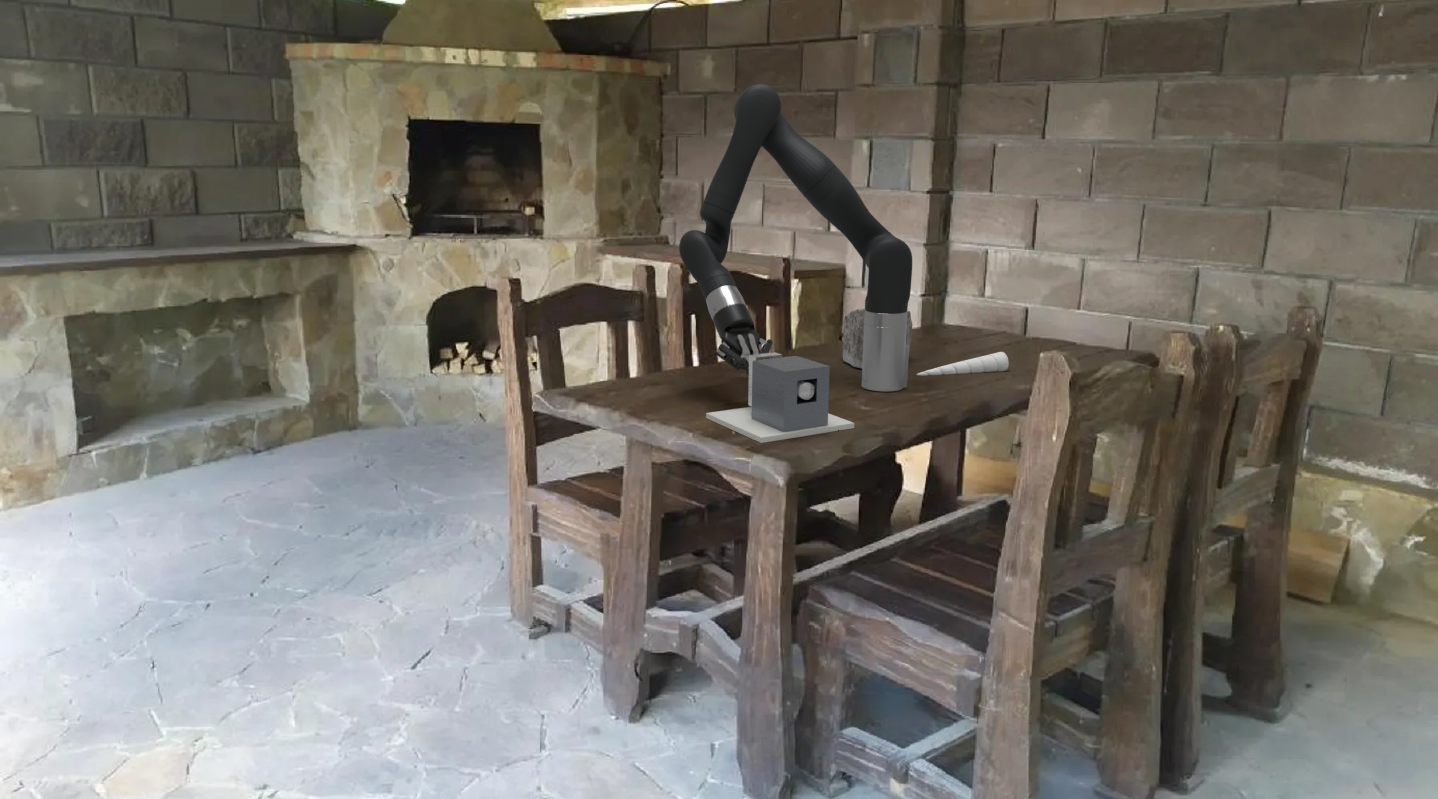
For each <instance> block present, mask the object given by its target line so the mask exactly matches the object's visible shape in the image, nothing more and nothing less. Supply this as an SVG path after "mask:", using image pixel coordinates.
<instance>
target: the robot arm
mask: <svg viewBox="0 0 1438 799" xmlns="http://www.w3.org/2000/svg"><path fill="white" fill-rule="evenodd" d="M733 113H734V115H733V116H734V119H735V125H734V129H733V131H732V134H731V137H730V141H729V143H728V146H727V148H726V151H725V153H724V155H723V158H722V160H721V161H720V163H719V166H718V167H717V169H716V171H715V173H714V175H713V177H712V180H711V182H710V185H709V186H708V189H707V192H706V194H705V197H704V200H703V202H702V205H701V208H700V211H699V216H700V217H701V219H702V220H703V221H704V223H705V231H704V232H703V231H702V230H697V229H692V230H688V231H686V232H685V233H684V234H683V235H682V236H681V238H680V240H679V243H678V244H679V246H678V250H679V255H680V258H681V261H682V262H683V265H685V267H686V269H687V270H688V272H689V273H690V275H691V276H692V278H693V280H695V281H696V282H697V284H698V286H699V287H700V291H701V293H702V295H703V298H704V300H705V302H706V305H707V306H706V307H707V310H708V314H709V315H710V317H711V320H712V322H713V325H714V328H715V329H716V332H717V334H718V337H719V338H720V340H721V342H720V345H719V346H718V347H717V349H716V350H715V354H716V356H718V357H719V359H722V360H723V361H724V362H725V363H727V364H728V365H730V366H731V367H732V368H734V369H735V370H737V371H740V370H744V372H746V375H747V377H748V378H749V355H755V354H764V353H771V348H772V346H773V343H774V342H773V340H772V339H770V338H769V339H767V340H765V339H763V338H761V335H760V333H758V331H757V330H756V328H755V322H754V320H753V318H752V315H751V314H750V311H749V309H748V306H747V304H746V302H745V299H744V297H743V296H742V294H741V292H740V291H739V290H738V287H737V285H736V282H735V280H734V278H733V276H732V274H731V273H730V271H729V270H728V268H727V267H725V266H724V265H723V264H722V263H723V262H724V260H725V258H726V257H727V256H726V255H727V253H728V249H729V242H730V235H731V228H732V220H733V218H734V215H735V213H736V211H737V208H738V206H739V203H740V200H741V198H742V196H743V192H744V189H745V188H746V184H747V181H748V179H749V176H750V173H751V171H752V168H753V166H754V163H755V161H756V158H757V155H758V154H759V152H760V149H761V148H763V149H764V150H765V151H766V152H767V153H769V155H770V156H771V157H772V158H773V159H774V160H775V162H776V163H777V164H778V166H779V167H780V169H781V170H782V171H783V172H784V174H785V175H786V176H787V177H788V179H789V180H790V181H791V183H793V184H794V186H795V187H796V189H797V190H798V191H799V192H800V193H801V194H802V195H803V196H802V197H804V198H805V199H806V200H807V201H808V203H810V204H811V206H812V207H813V208H814V209H815V210H816V211H817V212H818V213H819V214H820V215H821V216H822V217H824V218H825V219H826V220H827V221H828V222H829V223H830V224H831V225H833V227H834V228H836V229H837V230H838V231H840V233H842V234H843V236H844V237H845V238H847V240H848V241H849V242H850V244H851V245H852V247H854V249H855V250H856V252H857V254H859V256H860V257H861V260H862V261H863V262H864V263H865V266H866V267H867V268H868V277H867V291H866V296H865V299H864V309H865V316H864V341H863V364H862V368H861V387H862V388H863V389H866V390H869V391H875V392H898V391H901V390H903V389H904V388H905V389H906V388H907V387H908V375H909V361H908V359H910V358H909V356H910V355H909V354H910V351H909V346H908V345H907V344H906V329H907V311H909V310H908V306H909V302H910V297H911V289H912V288H911V287H912V279H913V278H912V276H913V254H912V251H911V248H910V246H909V245H908V244H907V243H906V242H905V241H903V240H902V239H900V238H898V237H897V236H895V235H894V234H892V233H891V232H890V231H889V230H888V229H887V228H886V227H884V226H883V225H882V224H881V223H880V221H879V220H878V219H876V217H874V215H873V214H872V213H871V212H870V210H869V209H868V208H867V206H866V205H865V203H864V201H863V200H862V198H861V195H859V193H858V192H857V190H856V188H855V187H854V186H853V184H852V183H851V181H850V180H849V179H848V178H847V177H846V175H845V174H844V173H843V172H842V171H841V170H840V168H839V167H838V166H837V165H836V164H835V162H833V160H831V159H830V157H828V156H827V155H826V154H825V153H824V152H823V151H821V150H820V149H818V148H817V147H816V146H815V145H813V144H812V143H810V142H809V141H808V140H806V139H805V138H804V137H802V135H800V134H799V133H798V132H797V131H796V130H795V129H794V127H793V126H792V125H791V124H790V123H789V121H788V120H787V119H786V118H785V117H784V115H783V114H782V101H781V97H780V96H779V94H778V92H777V91H776V89H774V88H773V87H772V86H770V85H768V84H765V83H756V84H753V85H751V86H748V87H747V88H745V90H743V91H742V92H741V93H740V94H739V96H738V97H737V99H736V100H735V103H734V107H733ZM758 348H759V349H758ZM759 351H760V352H759Z"/></svg>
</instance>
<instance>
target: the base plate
mask: <svg viewBox="0 0 1438 799" xmlns="http://www.w3.org/2000/svg"><path fill="white" fill-rule="evenodd" d="M705 418H706V419H708V420H710V421H712V422H714V423H716V424H718V425H721V426H722V427H725V428H727V429H730V430H732V431H734V432H736V433H738V434H741V435H742V436H745V437H747V438H749V439H751V440H753V441H756V442H757V443H760V444H764V443H770V442H776V441H783V440H787V439H794V438H800V437H807V436H813V435H814V436H815V435H819V434H826V433H833V432H838V430H839V431H844V430H850V429H855V422H852V421H850V420H847V419H844V418H841V417H839V416H836V415H834V414H831V413H829V412H828V426H821V427H815V428H809V429H802V430H796V431H789V432H781V431H779V430H777V429H774V428H772V427H770V426H767V425H765V424H763V423H760V422H758V421H755V420H753V419H752V406H747V407H741V408H740V407H739V408H732V409H725V410H720V411H719V410H718V411H712V412H706V413H705Z"/></svg>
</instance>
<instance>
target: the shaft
mask: <svg viewBox="0 0 1438 799" xmlns="http://www.w3.org/2000/svg"><path fill="white" fill-rule="evenodd" d="M781 357H783V354H782V353H778V352H775V351H774V352H769V353H764V354H760V353H759V354H755V355H749V377H748V396H747V398H748V400H747V401H748V402H747V403H748V407H752V361H755V360H763V359H772V358H781ZM813 394H814V386H813V385H812V384H811V383H809V382H806V381H803V380H800V381H798V383H797V397H799V398H802V399H804V400H808V399H810V398H811V397H812V396H813Z"/></svg>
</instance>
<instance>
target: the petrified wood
mask: <svg viewBox="0 0 1438 799" xmlns="http://www.w3.org/2000/svg"><path fill="white" fill-rule="evenodd" d="M864 316H865V308H857V309H854V310H850V312H849V313H846V314H845V315H844V320H843V321H844V322H843V328H842V343H841V347H842V359H843V361H844V363H847V364H849V365H850V366H852V367H854V368H858V369H862V364H863V341H864ZM912 333H913V320H912V315H911V312H910V310H907V329H906V344H907V345H908V346H909V352H910V350H911V341H912ZM909 359H910V358H909ZM909 359H908V362H909Z"/></svg>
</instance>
